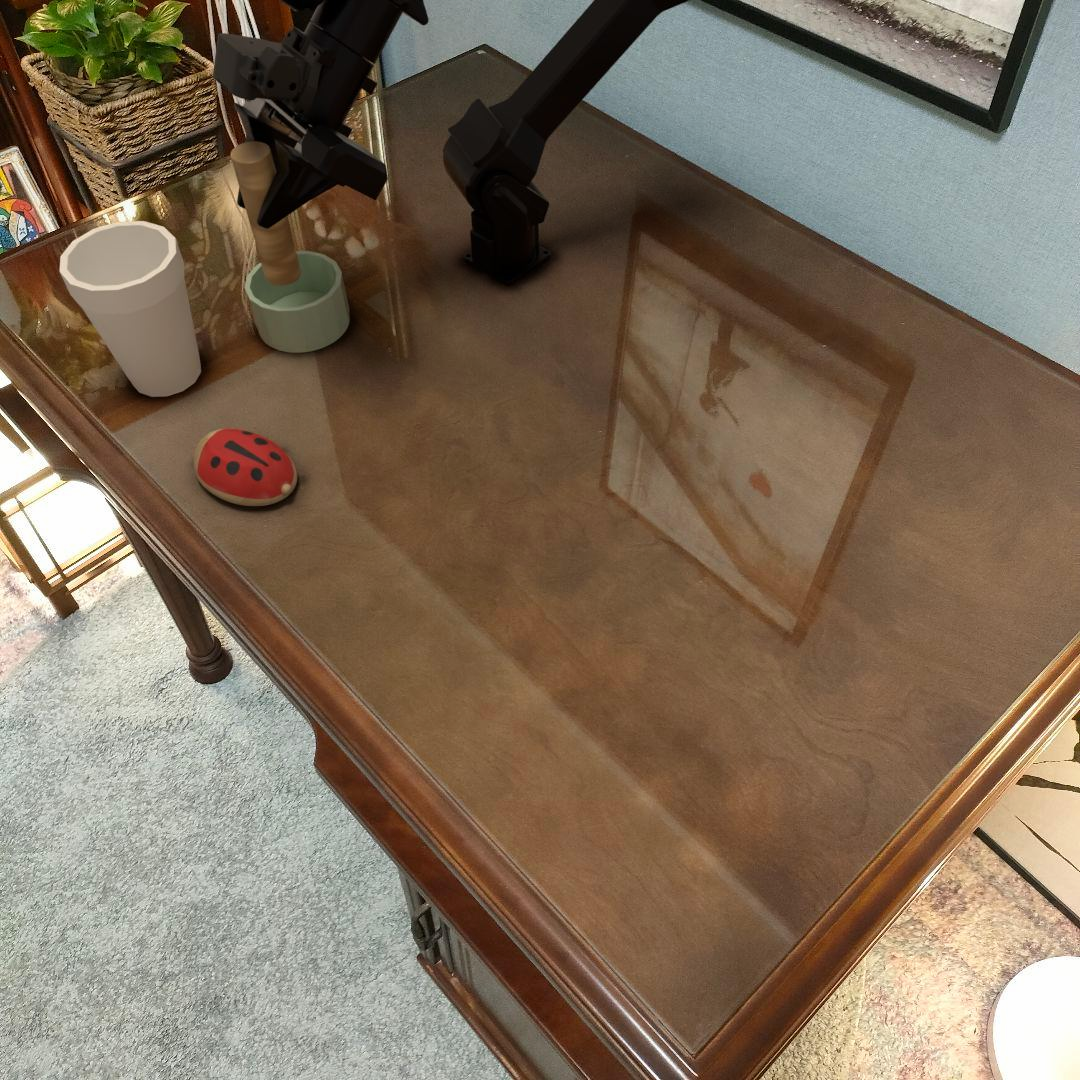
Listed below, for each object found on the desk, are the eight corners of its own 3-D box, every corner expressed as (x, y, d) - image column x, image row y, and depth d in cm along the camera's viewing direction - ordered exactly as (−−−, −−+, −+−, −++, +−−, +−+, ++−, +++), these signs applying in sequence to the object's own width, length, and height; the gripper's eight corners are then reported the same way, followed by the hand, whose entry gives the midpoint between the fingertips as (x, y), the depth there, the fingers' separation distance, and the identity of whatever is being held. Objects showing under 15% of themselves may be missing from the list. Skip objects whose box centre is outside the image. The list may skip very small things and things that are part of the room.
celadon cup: (310, 281, 102) (300, 239, 98) (368, 319, 98) (360, 276, 94) (239, 325, 98) (225, 282, 94) (297, 366, 94) (286, 323, 90)
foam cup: (192, 415, 90) (145, 297, 80) (96, 402, 92) (38, 284, 81) (233, 345, 96) (194, 226, 86) (142, 333, 97) (93, 215, 87)
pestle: (303, 262, 92) (272, 139, 83) (299, 285, 90) (268, 161, 81) (267, 264, 92) (232, 141, 83) (263, 287, 90) (227, 164, 81)
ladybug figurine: (229, 432, 89) (218, 402, 86) (320, 472, 86) (312, 443, 83) (177, 482, 85) (164, 453, 83) (270, 526, 82) (260, 497, 80)
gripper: (204, -52, 79) (119, 130, 84) (325, 37, 69) (221, 237, 74) (313, 20, 88) (231, 181, 93) (433, 108, 78) (335, 282, 83)
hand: (251, 216), depth 85 cm, fingers closed on pestle, 3 cm apart
